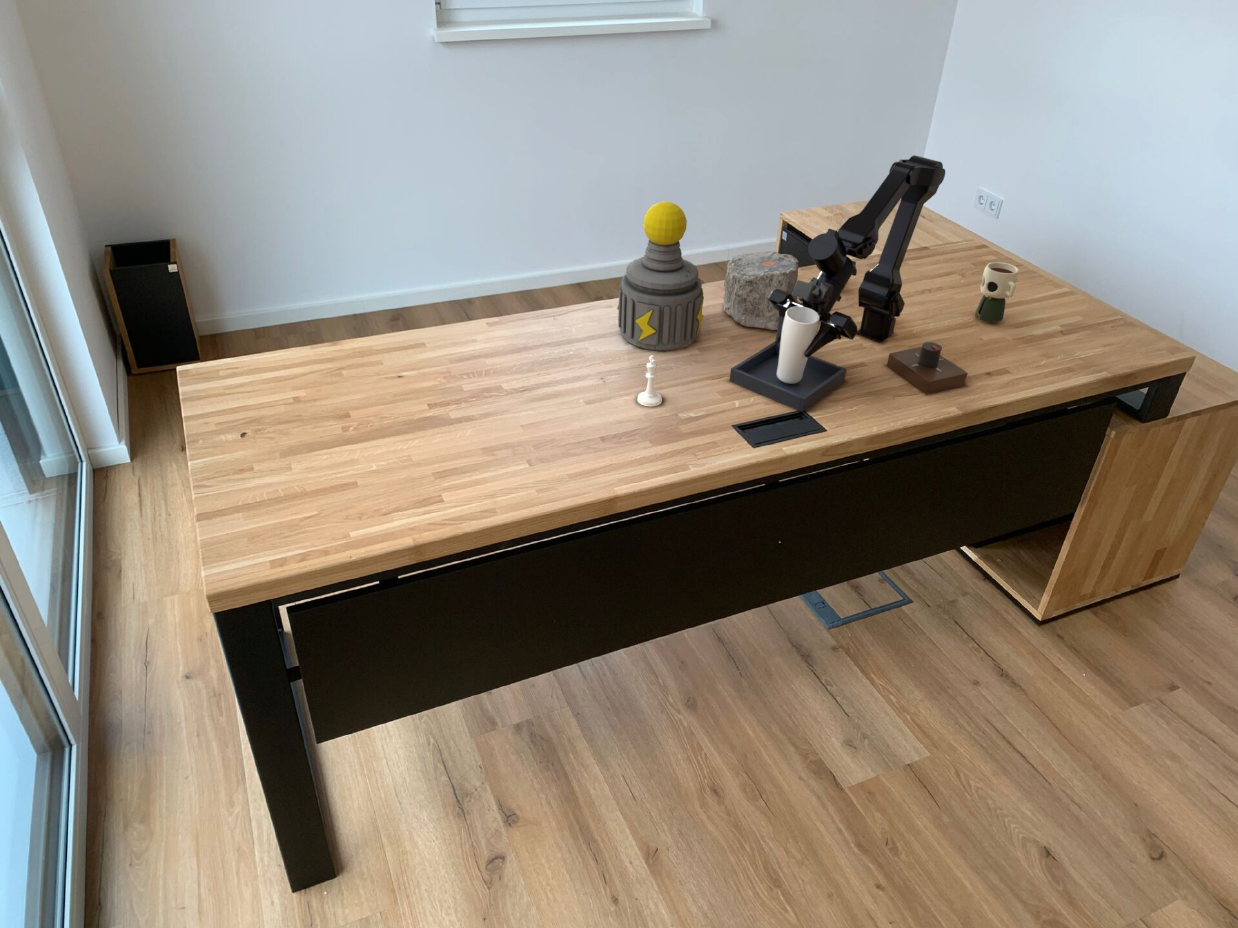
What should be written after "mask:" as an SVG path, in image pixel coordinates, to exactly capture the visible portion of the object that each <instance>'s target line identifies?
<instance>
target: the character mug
mask: <svg viewBox="0 0 1238 928" xmlns="http://www.w3.org/2000/svg"><path fill="white" fill-rule="evenodd" d="M1018 276H1019V268H1018V267H1017V266H1016V265H1013V264H1011V263H1008V262H1001V261H993V262H989V263H988V264H986V266H985V267H984V270H983V274H982V277H981V278H982V281H981V283H980V292H981V294H982V295H983V296H981V299H980V301H979V303H978V306H977V308H976V310H975V313H974V316H975V318H978V320H979V321H981V322H984V323H990V324H993V323H998V322H1002V321H1003V319H1004V316H1005V310H1006V304H1007V303H1006V300H1007V298H1013V297H1014V295H1015V292H1016V287H1017V285H1016V283H1017V279H1018ZM978 315H979V317H978Z"/></svg>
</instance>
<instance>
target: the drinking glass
mask: <svg viewBox="0 0 1238 928" xmlns="http://www.w3.org/2000/svg"><path fill="white" fill-rule="evenodd" d="M819 322H820V321H819V315H818V313H817V312H816V311H814V310H812V309H810V308H807V307H802V306H796V307H791V308H789V309H788V310H787V311H786V314H785V317H784V322H783V326H782V333H781V342H780V352H779V361H778V368H777V377H778V379H779V380H781V381H782V382H784V383H788V384H795V383H798V382H800V381H801V379H802V377H803V373H804V369H805V366H806V363H807V360H808V358H807V357H805V353H806V351H807V349H808V347H809V345H810V344H811V342H812V341H813V339H814V337H815V336H816V334H817V333H818V330H819Z"/></svg>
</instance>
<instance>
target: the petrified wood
mask: <svg viewBox="0 0 1238 928" xmlns="http://www.w3.org/2000/svg"><path fill="white" fill-rule="evenodd" d="M798 279H799V260H798V259H797V258H796V257H795V256H794V255H792V254H787V253H783V254H782V253H779V252H777V251H773V250H772V251H762V252H761V251H760V252H749V253H742V254H737V255H735V256H732V257H731V258H730V259H729V261H728V262H727V266H726V274H725V277H724V281H723V287H724V288H723V289H724V290H723V291H724V294H723V309H722V311H723V312H724V313H726V314H727V316H730V317H731V318H732V319H733V320H734V322H735V323H738V324H740V325H741V326H744V327H748V328H749V327H750V328H757V329H767V330H771V331H777V329H778V324H779V311H778V310H776V309H775V308H774V306H773V305H772V304H771V303H770V301H769V300H768V299H767V298H768V297H769V295H770V293H771V292H772V291H773V290H775V289H779V290H782V291H784V292H787V293H790V294H791V295H792V292H793V290H794V287H795V284H796V282H797V280H798ZM792 297H793V298H794V299H795V301H796V302H798V296H797V297H795V296H792Z"/></svg>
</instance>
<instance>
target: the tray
mask: <svg viewBox="0 0 1238 928" xmlns="http://www.w3.org/2000/svg"><path fill="white" fill-rule="evenodd" d="M779 352H780V344H779V345H776V344H775V341H773V342H772V343H769V345H767V346H765V347H764V348H762V349H760V350H759V351H757V352H755V353H754V354H752V355H751V356H749V357H747V358H745V359H744V360H743V361H741V362H739V363H737V364H736V365H734V366H732V367H731V368H730V370H729V371H730V374H729V382H730V383H732V384H735V385H737V386H740V387H742V388H744V389H746V390H749V391H751V392H754V393H757V394H759V395H760V396H763V397H766V398H768V399H771V400H773V401H775V402H778V403H780V404H782V405H784V406H787V407H789V408H792V409H794V410H795V411H796V410H797V411H799V412H801V413H803V412H805V411H806V410H807V409H809V408H810V407H811V406H813V405H815V404H816V403H817V402H819V401H820V400H821V399H823V398H824V397H825V396H827V395H828V394H830V393H831V392H832V391H833V390H835V389H836V388H838V387H839V386H841V385H842V384H843V383H845V381H846V376H847V370H848V369H847V368H846V367H843V366H840V365H837V364H835V363H833V362H829V361H827V360H824V359H821V358H819V357H816V356H814V355H811V356H809V357H808V360H807V363H806V366H805V369H804V373H803V377H802V379H801V381H800V382H798V383H795V384H788V383H784V382H782V381H781V380H779V379H778V377H777V368H778V361H779Z"/></svg>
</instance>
